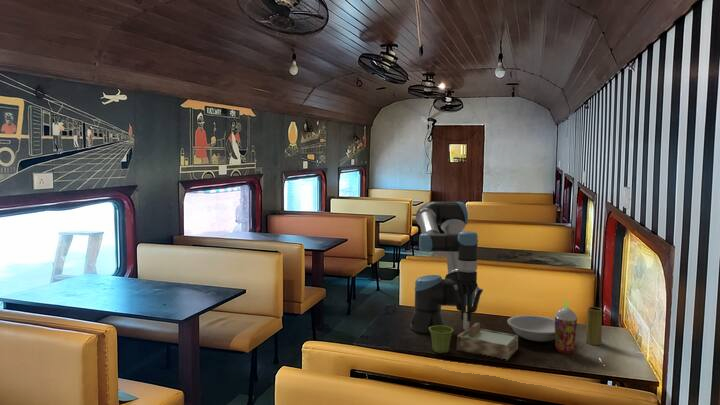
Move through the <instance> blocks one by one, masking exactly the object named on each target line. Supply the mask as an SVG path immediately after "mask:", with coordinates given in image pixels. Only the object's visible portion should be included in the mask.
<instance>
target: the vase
mask: <svg viewBox="0 0 720 405" xmlns="http://www.w3.org/2000/svg"><path fill="white" fill-rule="evenodd" d="M602 313H603V310H602V308H601V307H596V306H590V307H588V308H587V316H586V317H587V321H586V332H585V335H586V337H585V342H586V343H587V344H589V345H591V346H592V345H593V346H600V345H602V343H603V341H602V330H603V329H602V324H603V323H602V319H603V318H602V317H603V314H602Z"/></svg>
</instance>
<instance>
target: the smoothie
mask: <svg viewBox="0 0 720 405" xmlns="http://www.w3.org/2000/svg"><path fill="white" fill-rule="evenodd" d="M553 316H554V319H555V339H554V340H555V342H554V344H555V345H554V346H555V348H556V351H557V352H558V353H561V354H566V355H567V354H572V353H573V351H574V350H575V344H576V335H577V334H576V333H577V326H578V325H577V324H578V316H577V315H576V313H575V312H574V311H573V310H572V309H571V308H569V307H568V300H565V305H564V307H562V308H559V309H558V310H557V311H556V312H555V314H554V315H553Z"/></svg>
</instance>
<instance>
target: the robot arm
mask: <svg viewBox="0 0 720 405" xmlns="http://www.w3.org/2000/svg"><path fill="white" fill-rule="evenodd" d="M468 215H469V212H468V208H467V206H466V204H465V203H464V202H463V201H456V200H455V201H429V202H426V203H424V204H422V205H421V206H420V207H419V208H418V209H417V211H416V212H415V220H416V223H417V225H418V226H419V227H420V232H421V233H420V234H419V236H418V237H419V238H418V245H419V247H418V248H419V250H420V251H421V252H427V253H429V252H438V253H439V252H440V253H441V252H443V253H444V252H445V254H446V265H447V274H445V276H444V278H442V276H441V275H440V274H429V275H428V274H426V275H423V276H419V277H418V278H416V279H415V282H414V312H413V315H412V317H411V320H410V324H409V326H410V330H411V331H414V332H415V333H421V334H429V335H431V333H430V330H429V327H431V326H436V325H441V326H446V324H445V320H444V316H443V314H442V307H443V306H444V307H447V306H448V307H456V310H457V311H459V312H460V313H461V316H460V319H461V321H462V329H463V330H467V329H468V328H469V327H470V322H472V316H473V314H472V313H475V312H477V309H478V305H479V302H480V298H481V295H482V293H483V292H484V289H483V288H480V286H479V285H478V282H477V280H478V272H477V270H478V243H479V239H478V234H477V232H476V231H471V230H470V231H468V230H467V231H466V230H465V231H464V229H465V228H466V225H468V222H469V216H468ZM438 226H440V229H441V230H442V231H443V232H444V233H441V232H440V230H439V228H438Z"/></svg>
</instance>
